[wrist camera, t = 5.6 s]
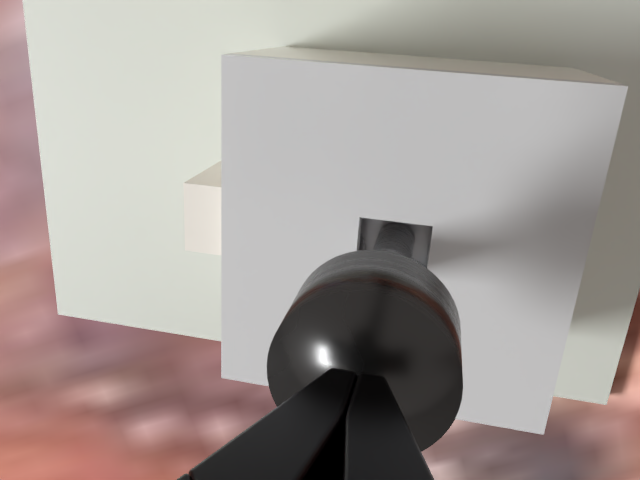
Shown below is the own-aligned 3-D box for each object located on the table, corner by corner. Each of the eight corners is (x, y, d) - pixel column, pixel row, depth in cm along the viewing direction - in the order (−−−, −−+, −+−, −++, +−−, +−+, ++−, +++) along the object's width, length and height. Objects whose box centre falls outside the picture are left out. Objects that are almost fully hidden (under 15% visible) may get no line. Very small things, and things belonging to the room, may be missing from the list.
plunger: (561, 115, 14) (660, 193, 8) (509, 369, 17) (548, 591, 10) (274, 90, 15) (145, 138, 9) (266, 330, 18) (162, 506, 11)
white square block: (573, 67, 18) (627, 86, 12) (518, 329, 21) (543, 434, 15) (243, 43, 19) (166, 50, 14) (240, 288, 23) (176, 369, 17)
